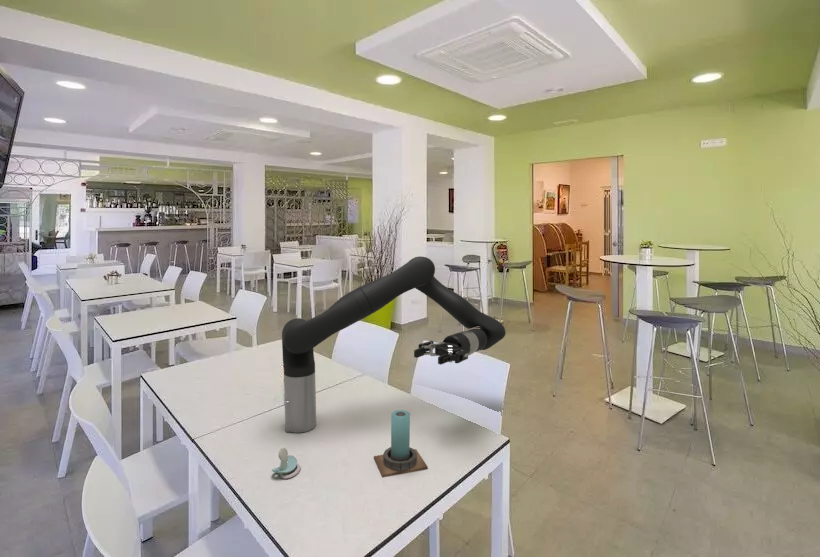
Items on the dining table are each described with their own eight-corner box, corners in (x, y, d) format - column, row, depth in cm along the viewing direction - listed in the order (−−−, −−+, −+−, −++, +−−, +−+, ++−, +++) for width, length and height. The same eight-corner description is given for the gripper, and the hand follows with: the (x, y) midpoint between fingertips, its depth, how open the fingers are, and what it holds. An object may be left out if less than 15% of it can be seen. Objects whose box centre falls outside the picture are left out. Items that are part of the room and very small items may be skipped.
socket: (382, 477, 108) (382, 467, 107) (373, 458, 116) (373, 449, 116) (427, 468, 112) (427, 459, 111) (416, 451, 120) (416, 442, 120)
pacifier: (305, 467, 112) (285, 462, 114) (305, 444, 112) (285, 440, 113) (290, 483, 105) (268, 478, 107) (290, 459, 105) (268, 454, 106)
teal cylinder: (393, 467, 111) (394, 419, 109) (388, 457, 115) (388, 411, 114) (412, 464, 112) (412, 416, 111) (406, 454, 117) (406, 408, 115)
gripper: (442, 328, 135) (407, 339, 123) (481, 337, 126) (447, 349, 114) (441, 352, 136) (407, 364, 124) (480, 362, 127) (447, 376, 115)
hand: (426, 357), depth 119 cm, fingers open, 8 cm apart
